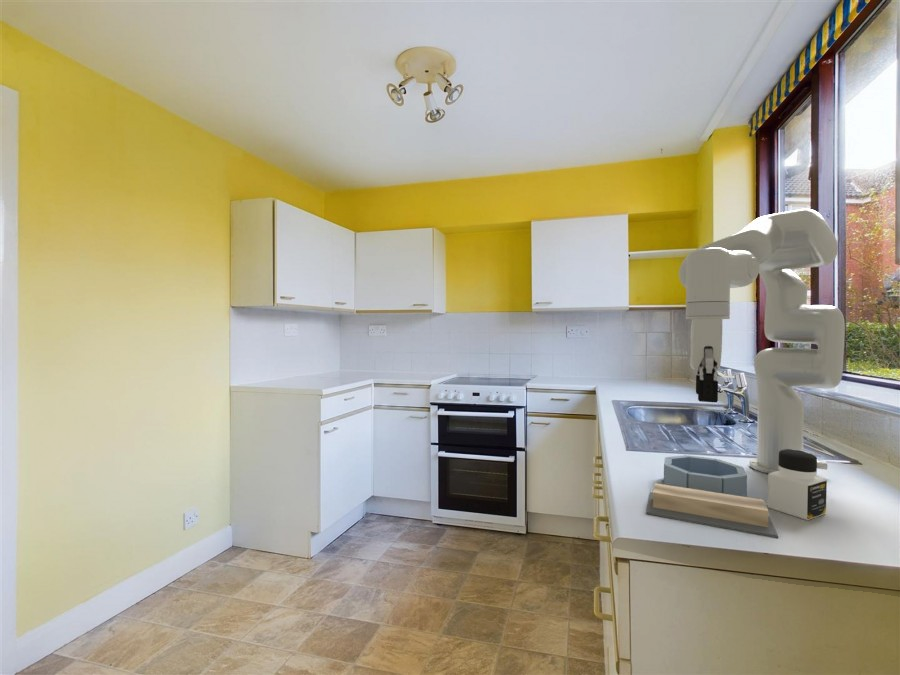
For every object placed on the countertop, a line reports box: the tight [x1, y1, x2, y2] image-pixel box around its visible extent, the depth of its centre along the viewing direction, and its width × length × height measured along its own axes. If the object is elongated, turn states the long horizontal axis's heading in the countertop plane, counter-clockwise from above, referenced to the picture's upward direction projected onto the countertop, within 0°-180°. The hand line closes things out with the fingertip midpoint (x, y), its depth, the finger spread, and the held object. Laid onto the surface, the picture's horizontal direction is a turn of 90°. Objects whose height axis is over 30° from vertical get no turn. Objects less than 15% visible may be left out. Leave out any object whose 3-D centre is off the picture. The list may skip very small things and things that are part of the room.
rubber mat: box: [646, 491, 779, 539], centre depth 87 cm, size 21×12×1 cm, turn 62°
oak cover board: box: [652, 482, 770, 527], centre depth 87 cm, size 6×19×3 cm, turn 62°
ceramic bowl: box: [663, 454, 748, 497], centre depth 101 cm, size 16×16×5 cm
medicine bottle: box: [767, 449, 828, 521], centre depth 88 cm, size 7×7×12 cm
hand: (706, 397), depth 88 cm, fingers open, 9 cm apart
